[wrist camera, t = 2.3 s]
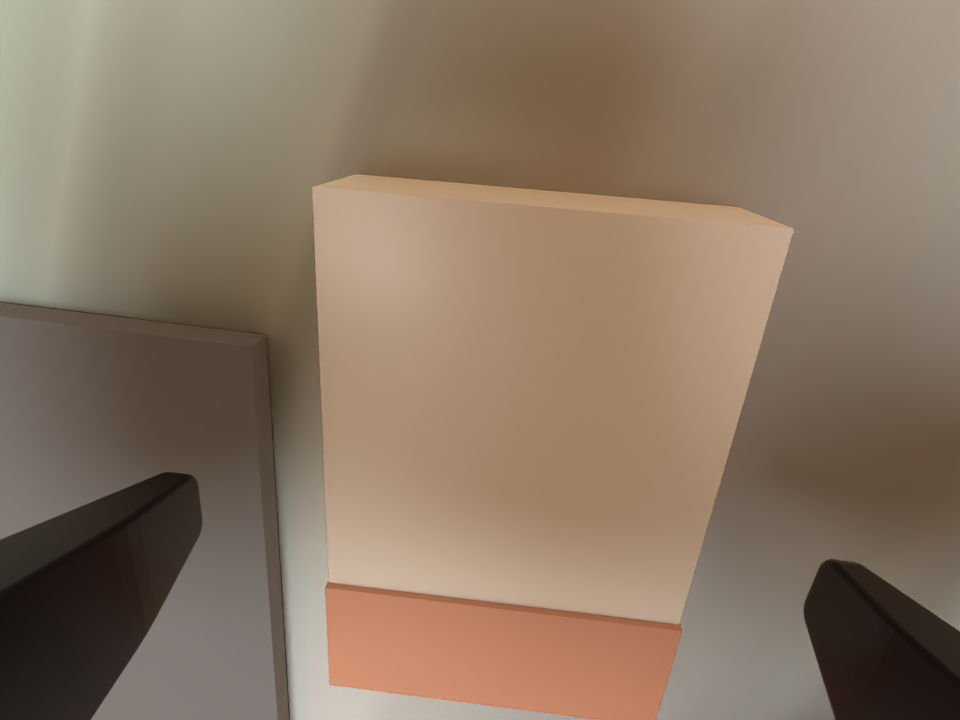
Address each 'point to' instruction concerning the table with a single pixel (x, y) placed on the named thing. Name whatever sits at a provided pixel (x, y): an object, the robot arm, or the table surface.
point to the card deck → (526, 432)
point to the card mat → (141, 455)
